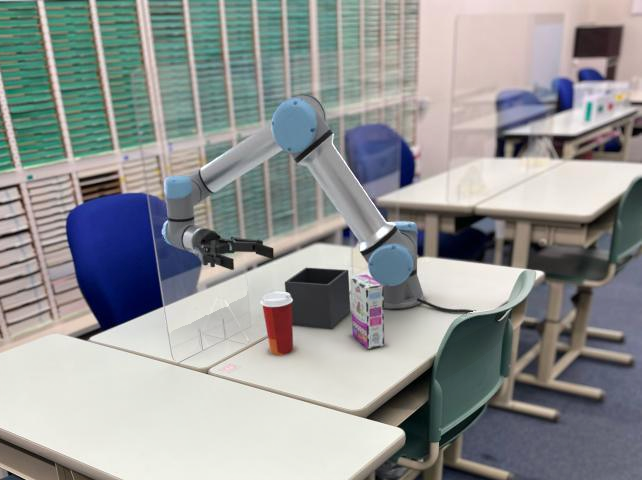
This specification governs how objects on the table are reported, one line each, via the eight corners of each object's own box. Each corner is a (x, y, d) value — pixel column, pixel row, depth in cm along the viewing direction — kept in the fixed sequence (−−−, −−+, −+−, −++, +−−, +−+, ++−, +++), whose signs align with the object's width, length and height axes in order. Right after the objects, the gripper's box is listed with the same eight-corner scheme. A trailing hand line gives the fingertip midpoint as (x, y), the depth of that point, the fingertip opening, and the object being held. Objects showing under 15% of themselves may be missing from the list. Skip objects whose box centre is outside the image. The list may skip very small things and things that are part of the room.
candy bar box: (385, 346, 182) (384, 284, 173) (368, 350, 181) (365, 288, 172) (368, 332, 191) (366, 273, 182) (351, 335, 190) (349, 276, 181)
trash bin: (350, 312, 205) (348, 270, 198) (331, 329, 195) (328, 285, 188) (309, 308, 211) (305, 267, 204) (288, 324, 201) (284, 282, 194)
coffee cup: (301, 345, 187) (296, 291, 179) (291, 357, 181) (285, 302, 173) (272, 343, 190) (266, 290, 182) (261, 355, 183) (254, 301, 176)
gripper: (238, 246, 202) (288, 263, 189) (167, 265, 188) (215, 284, 175) (237, 220, 198) (288, 235, 185) (164, 237, 184) (213, 254, 171)
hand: (253, 258), depth 180 cm, fingers open, 13 cm apart
